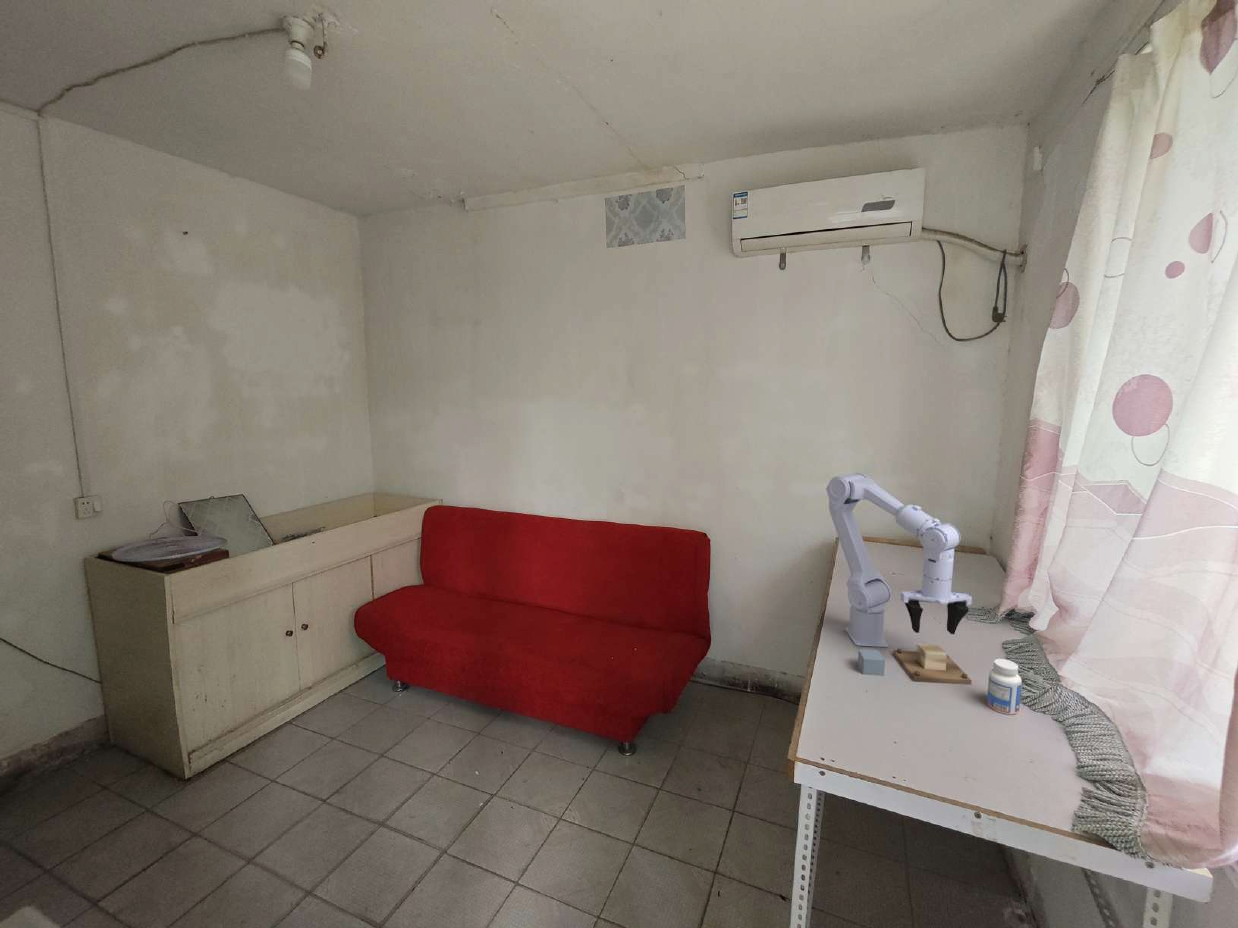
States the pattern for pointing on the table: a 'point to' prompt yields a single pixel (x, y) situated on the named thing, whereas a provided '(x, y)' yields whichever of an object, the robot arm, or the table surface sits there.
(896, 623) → the table surface
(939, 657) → the birch block
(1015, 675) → the pill bottle
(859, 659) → the slate block
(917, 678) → the base plate
